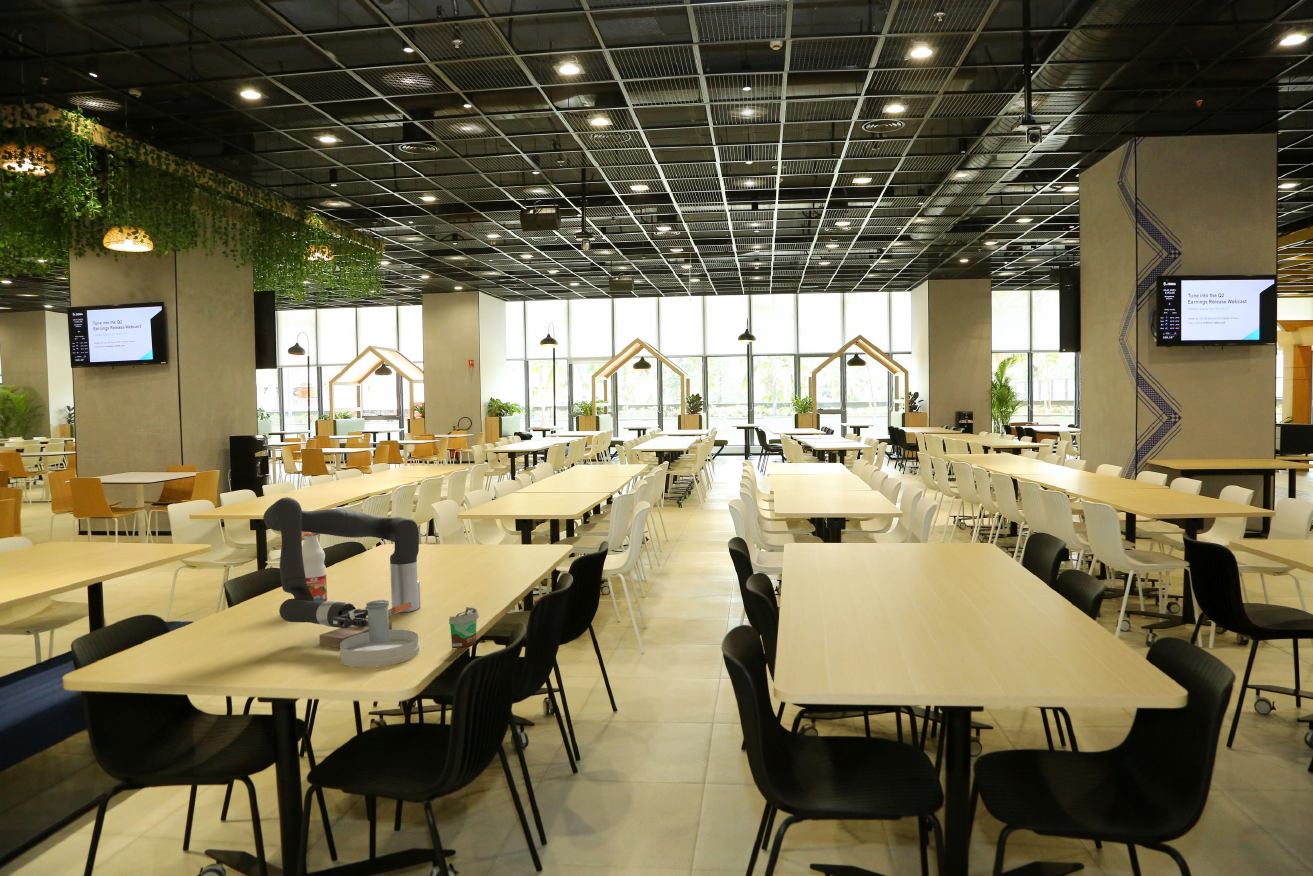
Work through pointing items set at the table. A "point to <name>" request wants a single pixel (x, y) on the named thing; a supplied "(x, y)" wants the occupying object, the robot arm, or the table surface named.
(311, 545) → the fruit juice
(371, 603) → the grey canister
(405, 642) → the dish
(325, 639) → the housing
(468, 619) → the food container
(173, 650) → the table surface
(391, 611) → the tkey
